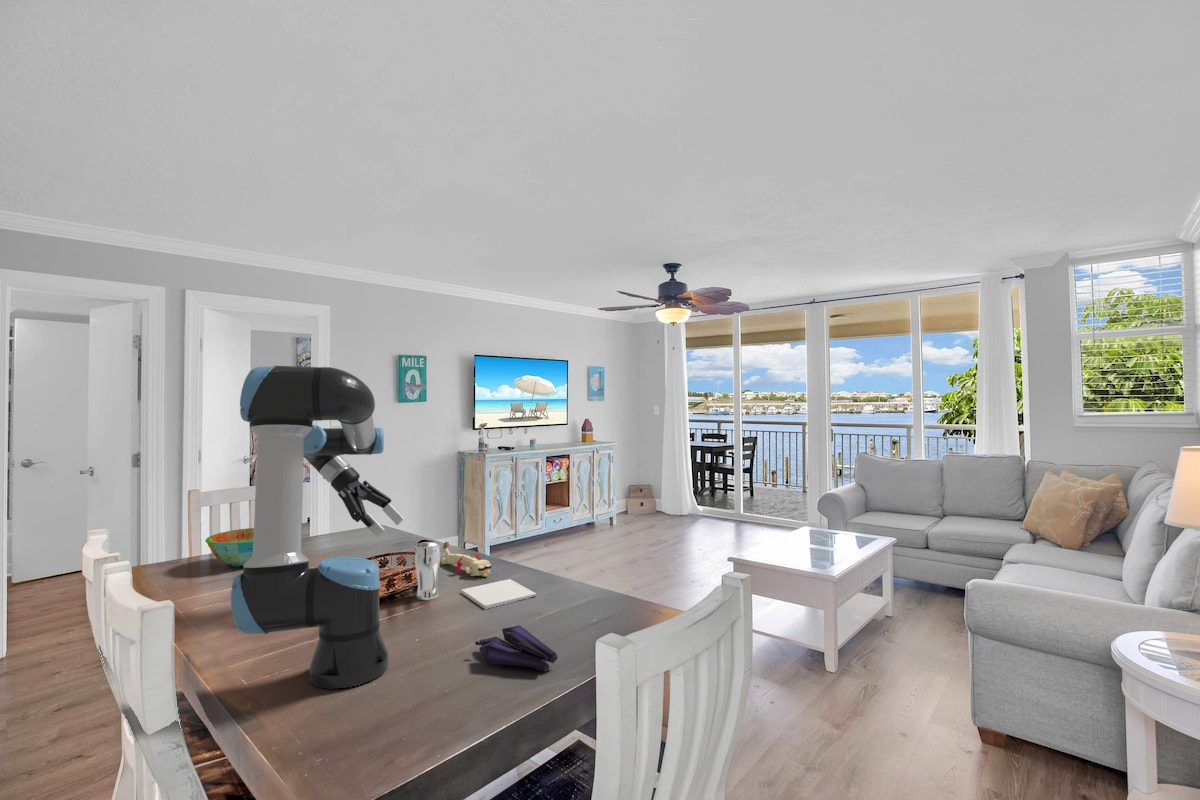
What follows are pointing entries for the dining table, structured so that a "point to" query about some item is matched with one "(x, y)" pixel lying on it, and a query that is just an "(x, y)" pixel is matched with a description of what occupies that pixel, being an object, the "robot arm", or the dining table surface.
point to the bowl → (232, 546)
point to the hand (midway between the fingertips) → (391, 527)
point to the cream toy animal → (466, 563)
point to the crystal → (517, 649)
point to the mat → (497, 593)
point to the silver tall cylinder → (427, 569)
